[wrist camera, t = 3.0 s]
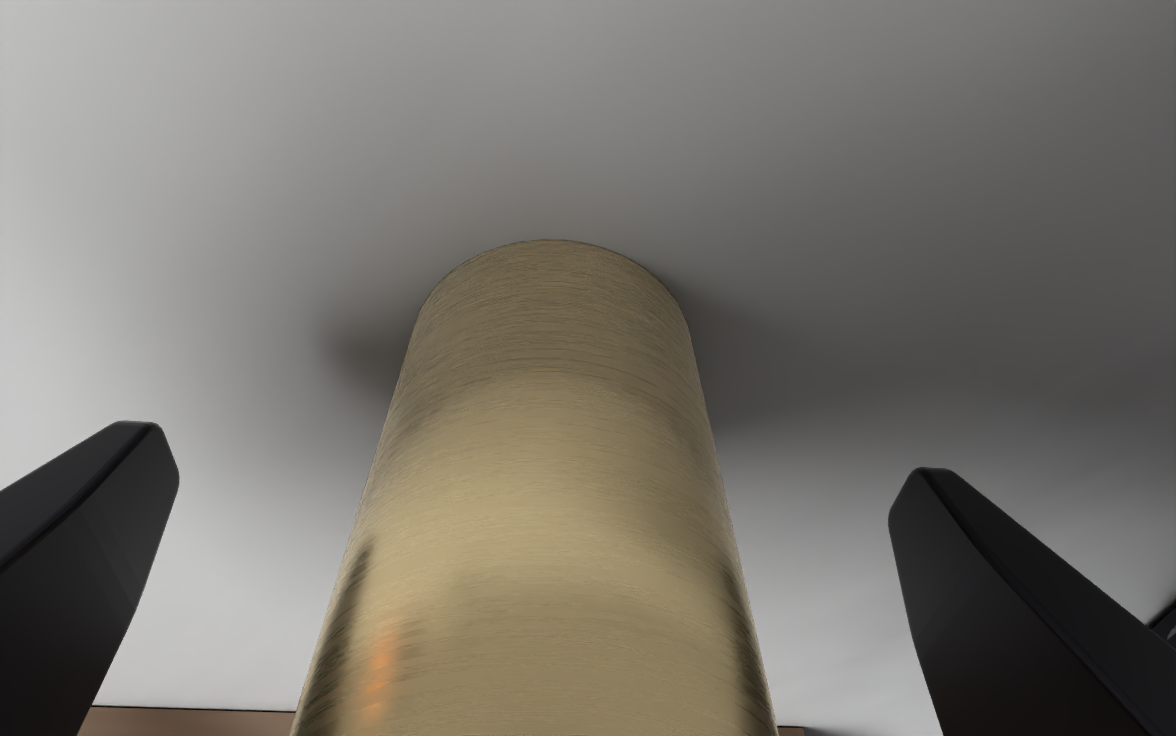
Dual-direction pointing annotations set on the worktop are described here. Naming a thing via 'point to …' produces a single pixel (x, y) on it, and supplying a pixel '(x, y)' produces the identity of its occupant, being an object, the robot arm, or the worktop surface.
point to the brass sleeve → (542, 524)
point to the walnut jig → (206, 723)
